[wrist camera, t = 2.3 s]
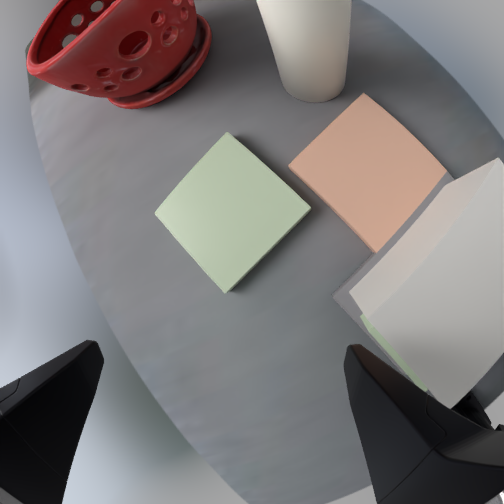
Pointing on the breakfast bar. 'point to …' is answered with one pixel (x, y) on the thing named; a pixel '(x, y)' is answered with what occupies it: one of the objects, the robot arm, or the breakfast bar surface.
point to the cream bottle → (309, 45)
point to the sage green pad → (230, 212)
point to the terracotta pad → (369, 171)
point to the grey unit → (439, 286)
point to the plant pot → (121, 49)
